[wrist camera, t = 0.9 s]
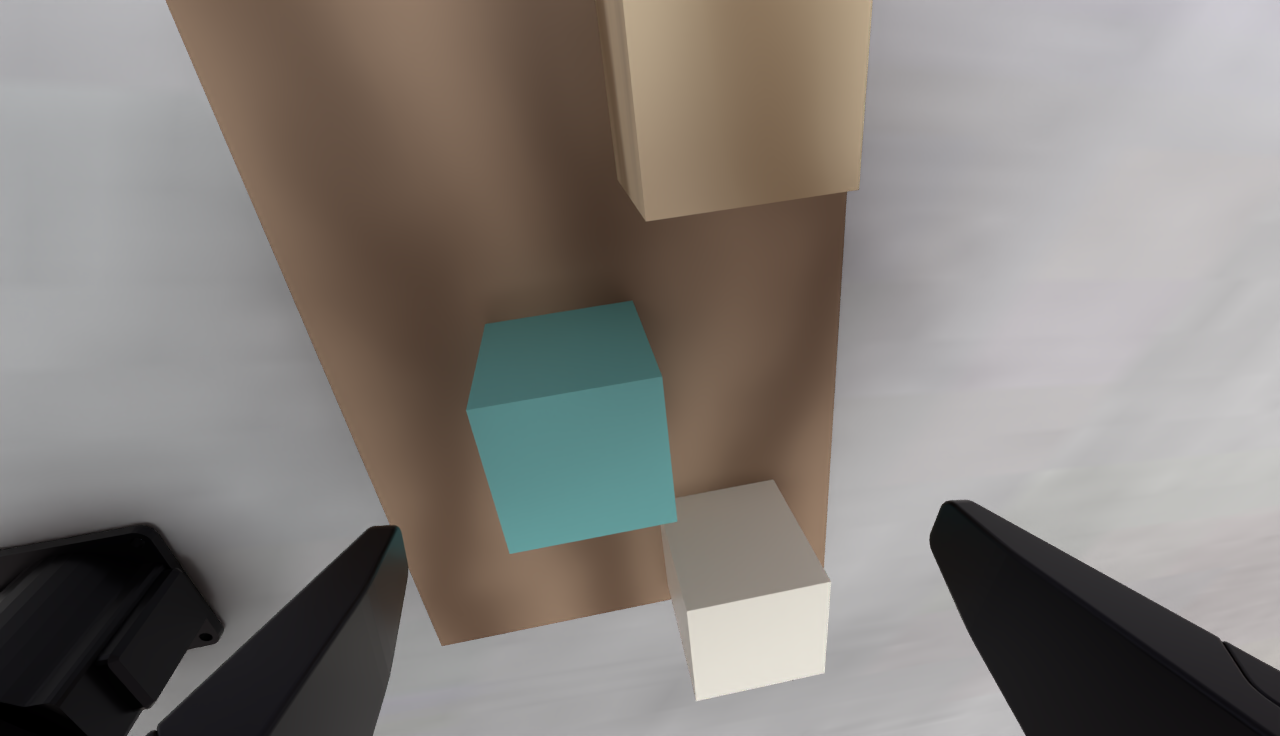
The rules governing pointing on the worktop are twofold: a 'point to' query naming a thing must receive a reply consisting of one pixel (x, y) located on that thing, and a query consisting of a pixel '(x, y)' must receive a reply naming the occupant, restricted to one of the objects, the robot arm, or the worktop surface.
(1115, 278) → the worktop surface
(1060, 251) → the worktop surface
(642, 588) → the walnut board
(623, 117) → the birch block
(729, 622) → the off-white block
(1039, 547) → the robot arm
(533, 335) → the teal block
